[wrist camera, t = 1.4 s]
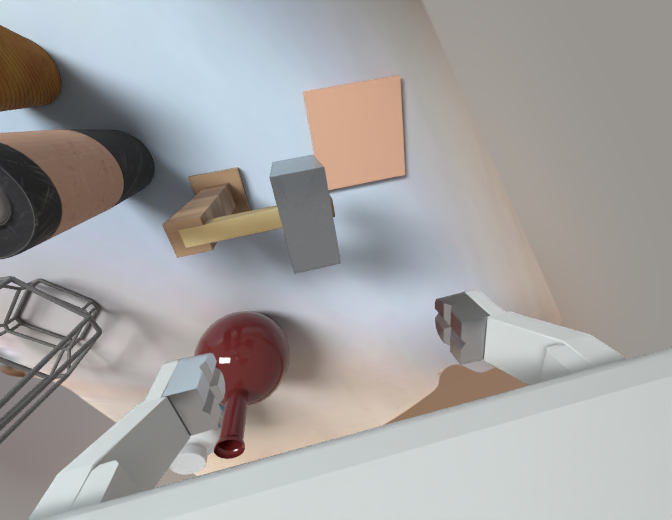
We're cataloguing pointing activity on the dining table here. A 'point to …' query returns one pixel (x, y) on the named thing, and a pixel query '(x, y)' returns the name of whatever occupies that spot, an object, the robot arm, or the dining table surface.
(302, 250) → the brushed grey metal block
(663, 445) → the robot arm
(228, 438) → the round-bottom flask
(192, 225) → the stand
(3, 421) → the geometric lantern
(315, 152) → the tile
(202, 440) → the pill bottle
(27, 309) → the dining table surface
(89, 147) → the travel mug
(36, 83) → the disposable coffee cup
